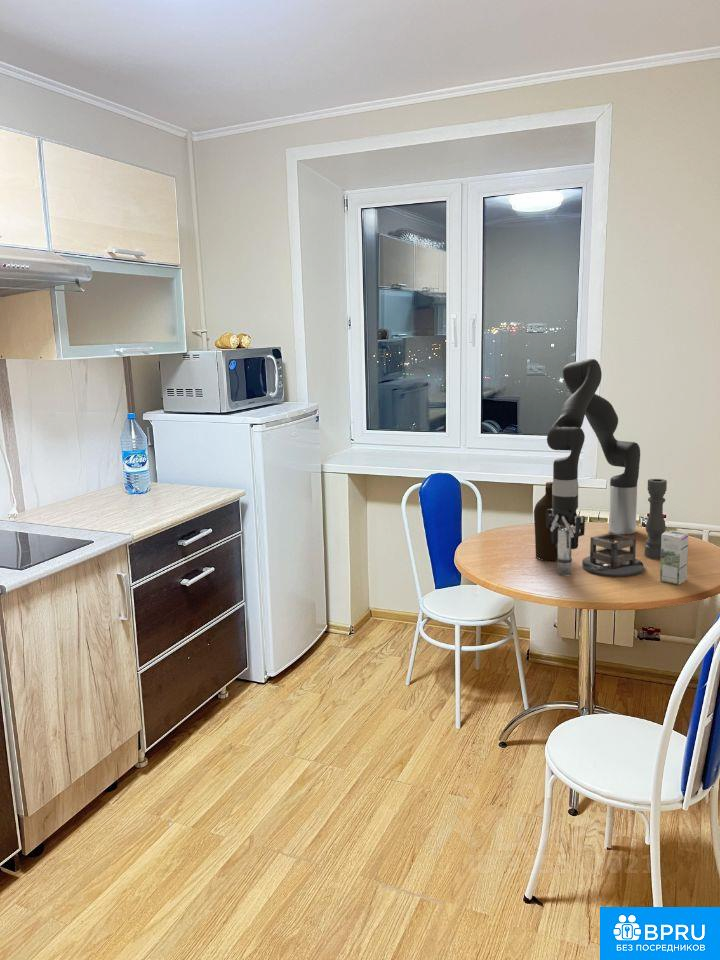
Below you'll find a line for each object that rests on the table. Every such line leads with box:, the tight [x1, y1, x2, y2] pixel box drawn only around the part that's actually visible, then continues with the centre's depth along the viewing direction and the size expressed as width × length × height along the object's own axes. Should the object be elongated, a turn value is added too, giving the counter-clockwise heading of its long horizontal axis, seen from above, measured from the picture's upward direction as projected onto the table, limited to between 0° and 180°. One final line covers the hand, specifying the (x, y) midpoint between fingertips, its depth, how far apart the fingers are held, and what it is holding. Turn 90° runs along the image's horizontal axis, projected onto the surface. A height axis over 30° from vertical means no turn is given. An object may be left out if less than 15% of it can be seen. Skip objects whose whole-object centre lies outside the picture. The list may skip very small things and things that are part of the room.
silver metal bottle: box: [556, 528, 573, 576], centre depth 218 cm, size 4×4×14 cm
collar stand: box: [581, 532, 644, 578], centre depth 222 cm, size 18×18×10 cm
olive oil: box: [533, 481, 566, 562], centre depth 234 cm, size 11×11×25 cm
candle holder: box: [644, 478, 668, 560], centre depth 230 cm, size 6×6×25 cm
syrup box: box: [659, 529, 689, 586], centre depth 208 cm, size 6×6×14 cm
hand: (564, 545), depth 218 cm, fingers open, 7 cm apart
